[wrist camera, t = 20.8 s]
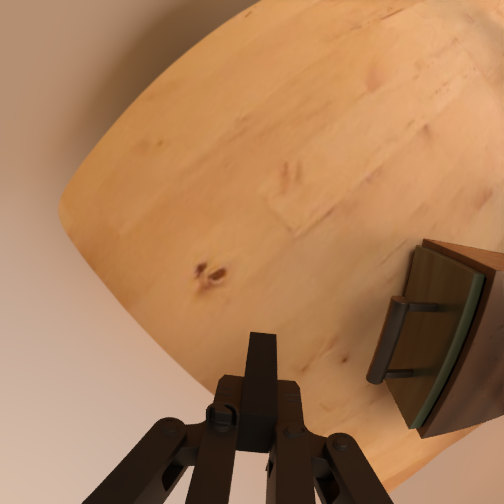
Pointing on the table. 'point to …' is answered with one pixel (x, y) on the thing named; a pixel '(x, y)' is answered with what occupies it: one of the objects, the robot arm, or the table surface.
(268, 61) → the table surface
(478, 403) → the cabinet
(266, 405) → the robot arm
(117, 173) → the table surface
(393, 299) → the drawer
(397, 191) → the table surface
